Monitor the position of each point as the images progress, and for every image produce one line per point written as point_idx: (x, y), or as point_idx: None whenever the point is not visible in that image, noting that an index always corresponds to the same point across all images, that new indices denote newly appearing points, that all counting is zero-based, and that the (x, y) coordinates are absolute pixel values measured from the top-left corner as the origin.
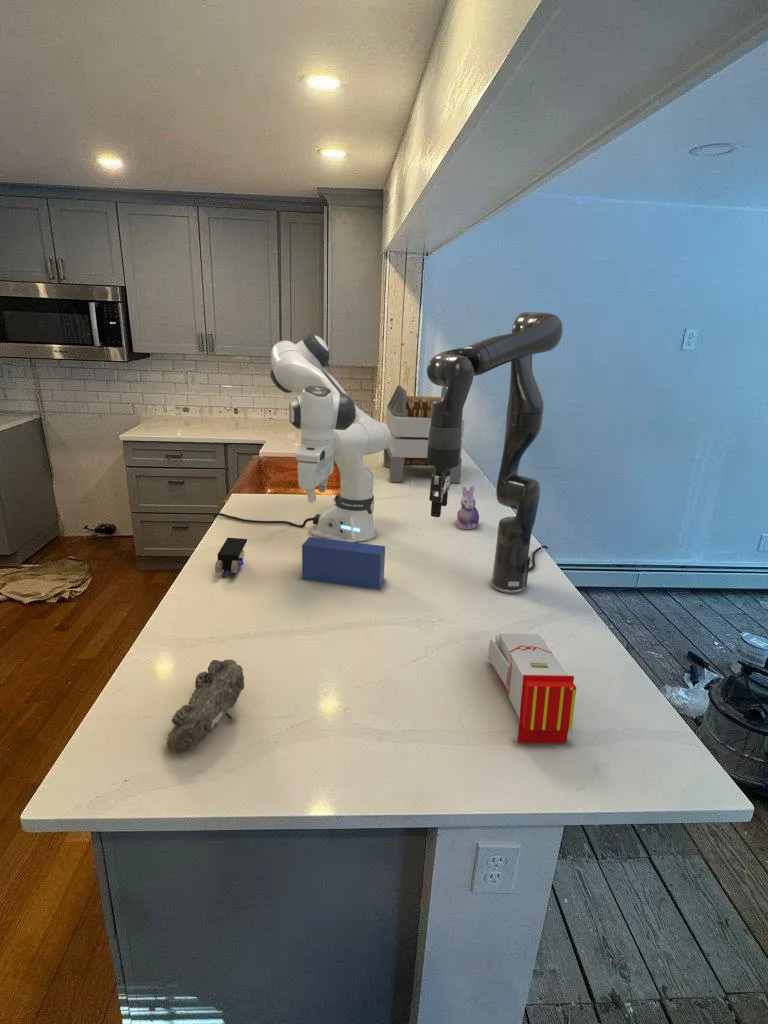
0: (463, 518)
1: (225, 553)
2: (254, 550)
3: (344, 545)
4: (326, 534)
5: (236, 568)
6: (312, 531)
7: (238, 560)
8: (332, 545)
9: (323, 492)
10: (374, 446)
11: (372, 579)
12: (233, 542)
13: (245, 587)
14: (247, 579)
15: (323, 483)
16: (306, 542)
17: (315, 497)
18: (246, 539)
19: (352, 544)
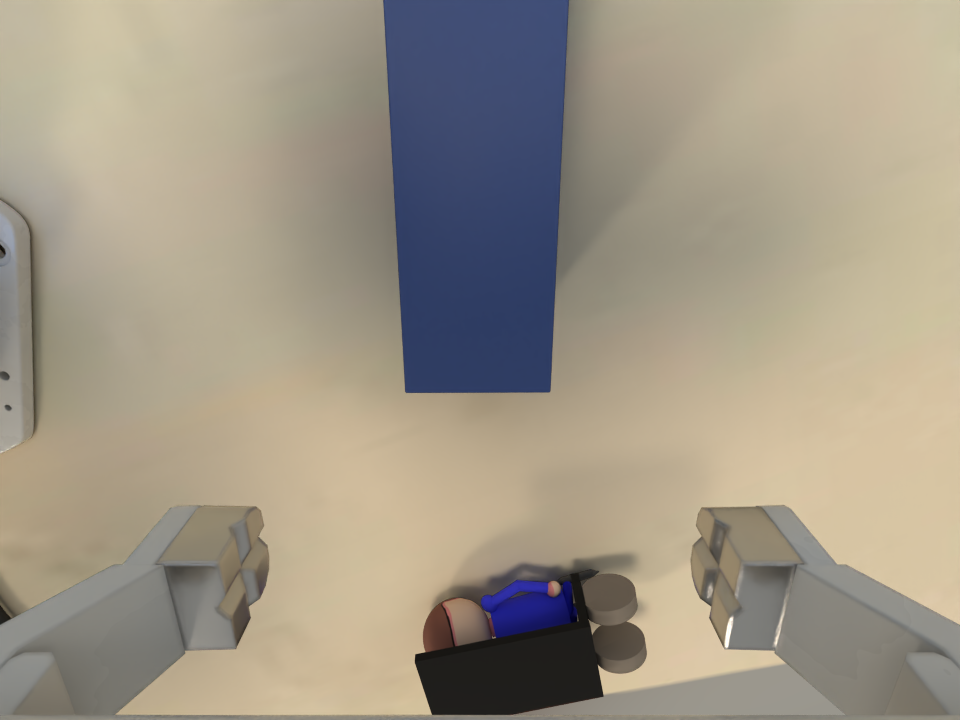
0: None
1: (587, 675)
2: (324, 591)
3: (475, 99)
4: (3, 366)
5: (610, 586)
6: (10, 444)
7: (581, 607)
8: (503, 193)
9: (261, 514)
10: None
11: None
12: (473, 692)
13: (660, 500)
14: (591, 518)
15: (134, 633)
16: (503, 379)
17: (746, 539)
18: (420, 661)
19: (435, 36)
